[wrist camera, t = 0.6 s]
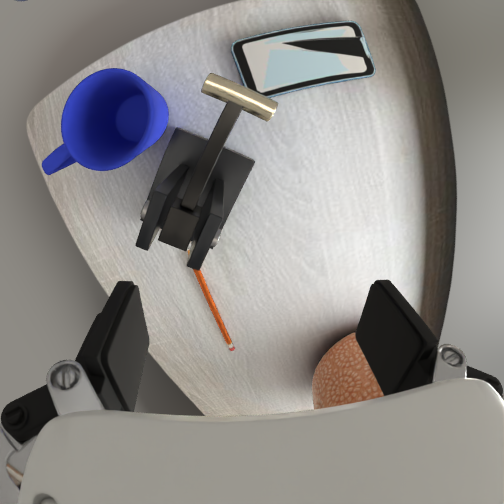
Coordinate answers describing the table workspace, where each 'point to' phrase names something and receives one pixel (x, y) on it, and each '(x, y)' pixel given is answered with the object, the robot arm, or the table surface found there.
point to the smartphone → (303, 57)
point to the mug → (108, 122)
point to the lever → (211, 154)
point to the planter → (344, 376)
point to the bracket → (211, 200)
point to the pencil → (213, 307)
